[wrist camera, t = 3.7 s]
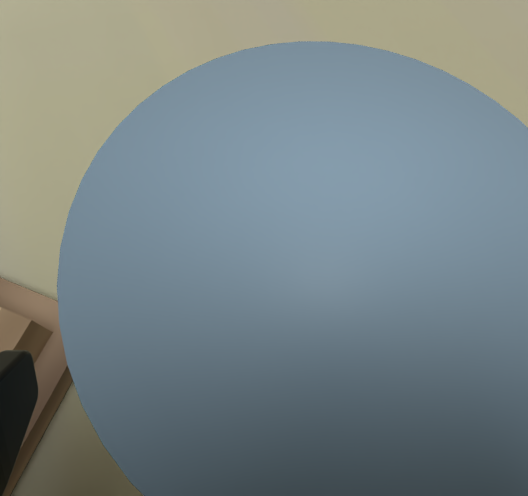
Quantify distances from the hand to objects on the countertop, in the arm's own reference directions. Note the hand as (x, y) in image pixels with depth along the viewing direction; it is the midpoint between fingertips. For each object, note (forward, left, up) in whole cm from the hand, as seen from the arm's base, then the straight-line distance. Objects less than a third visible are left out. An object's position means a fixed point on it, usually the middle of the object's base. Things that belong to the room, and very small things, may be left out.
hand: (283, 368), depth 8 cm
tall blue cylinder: (0, 0, -8) cm, 8 cm away
